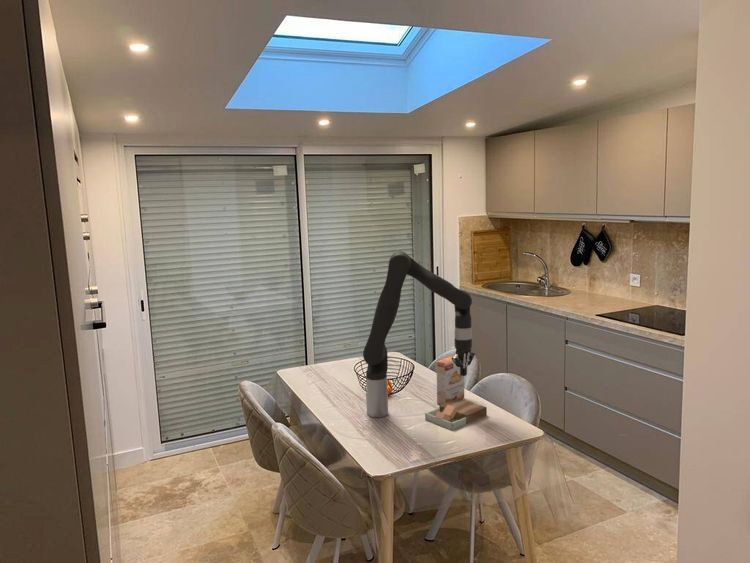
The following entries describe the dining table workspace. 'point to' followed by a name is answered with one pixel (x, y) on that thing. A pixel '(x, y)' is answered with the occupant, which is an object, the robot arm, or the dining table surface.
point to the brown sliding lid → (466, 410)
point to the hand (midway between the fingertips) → (463, 375)
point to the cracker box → (448, 381)
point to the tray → (450, 424)
